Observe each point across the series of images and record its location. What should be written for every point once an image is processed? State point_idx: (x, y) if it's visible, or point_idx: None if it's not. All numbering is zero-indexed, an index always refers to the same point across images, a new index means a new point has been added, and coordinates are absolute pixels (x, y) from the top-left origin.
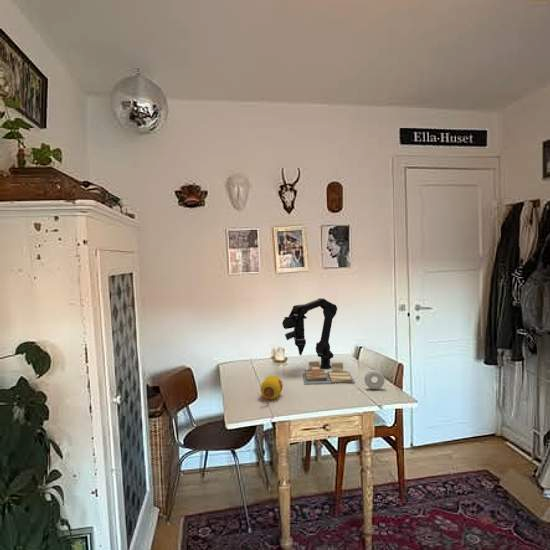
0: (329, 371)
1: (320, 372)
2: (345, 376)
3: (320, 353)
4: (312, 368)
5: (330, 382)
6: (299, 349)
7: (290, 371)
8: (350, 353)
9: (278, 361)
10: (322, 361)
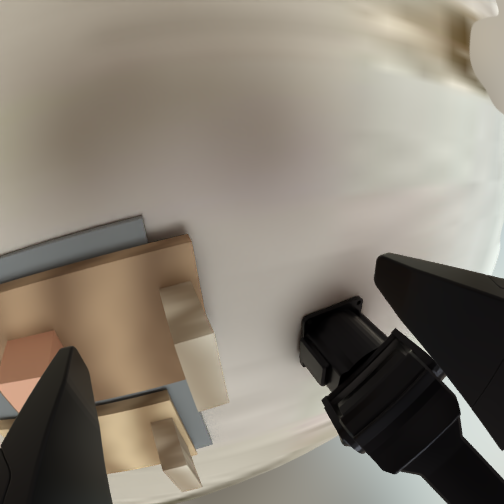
0: (162, 408)
1: (123, 373)
2: None
3: (365, 391)
4: (14, 384)
5: (2, 414)
6: (14, 474)
7: (241, 83)
8: None
9: (463, 37)
10: (338, 349)
